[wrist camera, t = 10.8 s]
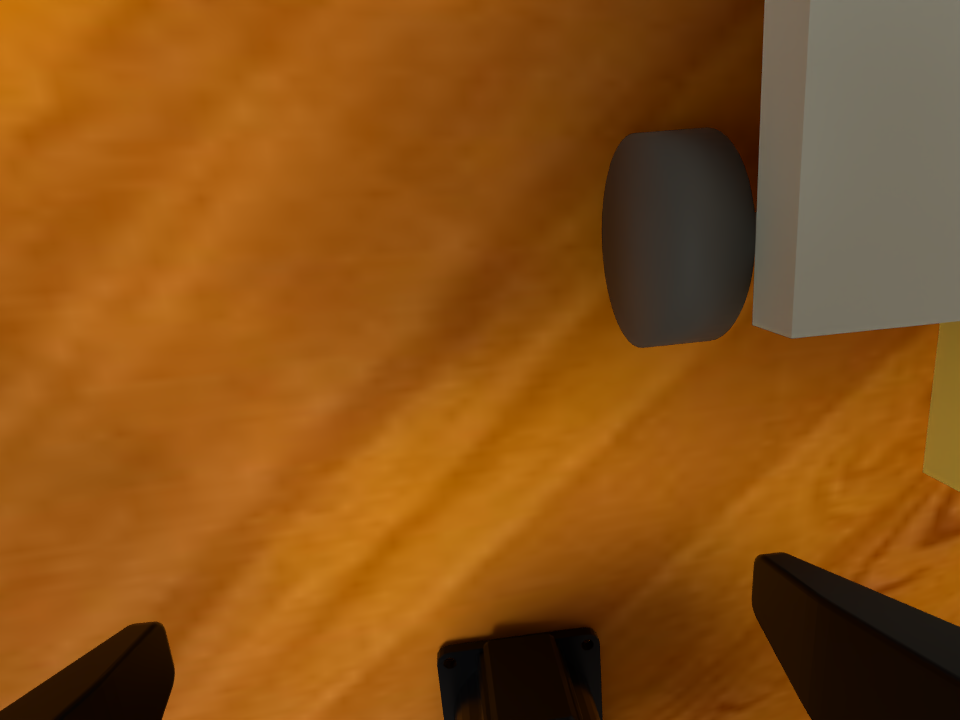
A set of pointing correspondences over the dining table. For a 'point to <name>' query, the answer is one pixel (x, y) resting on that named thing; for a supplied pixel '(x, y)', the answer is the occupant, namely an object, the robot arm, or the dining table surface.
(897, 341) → the dining table surface
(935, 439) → the chock
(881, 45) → the trolley
